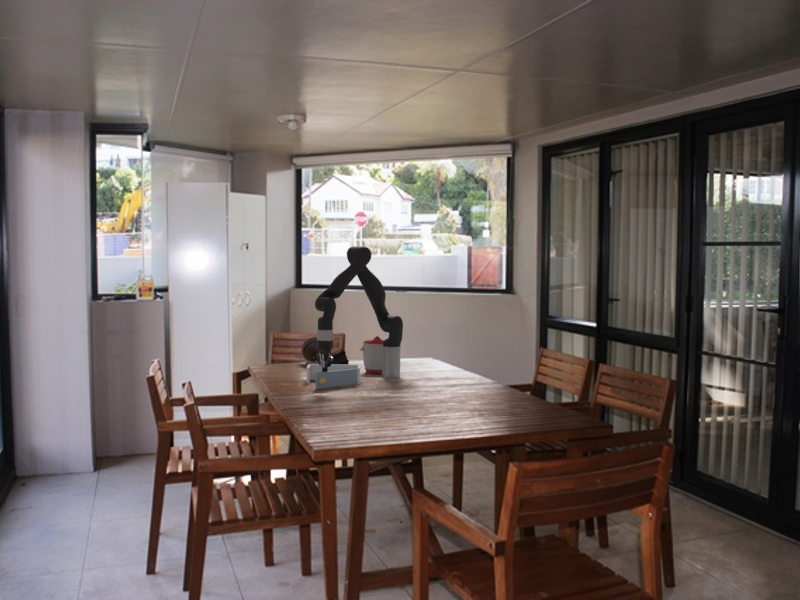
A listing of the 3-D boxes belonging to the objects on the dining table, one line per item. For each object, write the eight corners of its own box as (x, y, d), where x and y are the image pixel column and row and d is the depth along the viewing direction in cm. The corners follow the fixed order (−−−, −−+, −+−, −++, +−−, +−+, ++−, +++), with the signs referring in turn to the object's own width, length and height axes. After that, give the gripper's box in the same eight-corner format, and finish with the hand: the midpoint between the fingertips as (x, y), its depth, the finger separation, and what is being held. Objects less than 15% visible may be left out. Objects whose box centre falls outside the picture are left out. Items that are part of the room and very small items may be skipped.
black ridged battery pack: (356, 374, 383) (344, 349, 380) (334, 386, 379) (322, 361, 376) (353, 373, 387) (342, 348, 383) (331, 385, 383) (320, 360, 379)
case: (308, 381, 370) (308, 364, 369) (360, 382, 371) (360, 364, 371) (306, 386, 358) (306, 368, 357) (359, 386, 359) (360, 368, 359)
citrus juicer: (360, 369, 410) (361, 333, 408) (391, 370, 409) (392, 334, 408) (357, 374, 394) (358, 337, 393) (390, 375, 393) (390, 338, 392)
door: (315, 388, 345) (315, 372, 345) (355, 383, 359) (355, 368, 359) (317, 389, 344) (317, 373, 343) (357, 384, 358) (357, 369, 357)
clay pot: (311, 349, 403) (303, 335, 426) (306, 375, 406) (298, 360, 429) (337, 351, 408) (328, 337, 431) (332, 377, 411) (323, 362, 434)
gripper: (311, 337, 352) (310, 373, 353) (325, 341, 341) (325, 378, 343) (324, 336, 356) (324, 372, 358) (339, 340, 346) (339, 376, 347)
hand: (324, 375), depth 350 cm, fingers closed
